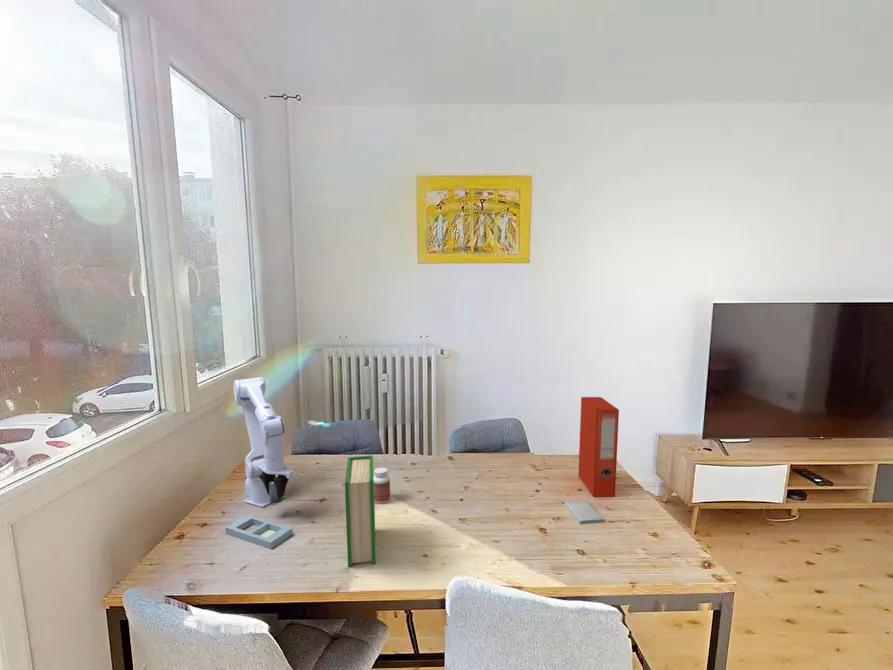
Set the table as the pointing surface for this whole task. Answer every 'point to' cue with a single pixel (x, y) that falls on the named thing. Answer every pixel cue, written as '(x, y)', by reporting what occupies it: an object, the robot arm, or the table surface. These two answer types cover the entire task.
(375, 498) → the pill bottle
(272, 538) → the grey double-hole frame
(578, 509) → the hard drive
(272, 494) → the peg
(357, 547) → the hardback book
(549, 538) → the table surface
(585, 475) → the file binder
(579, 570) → the table surface
